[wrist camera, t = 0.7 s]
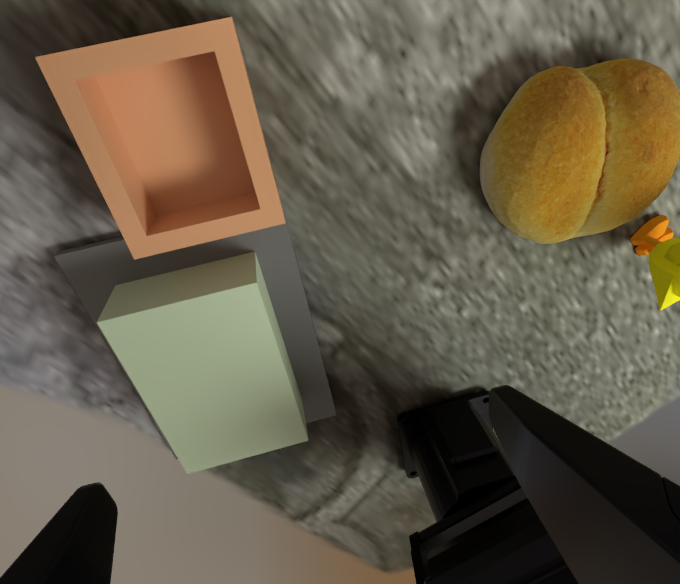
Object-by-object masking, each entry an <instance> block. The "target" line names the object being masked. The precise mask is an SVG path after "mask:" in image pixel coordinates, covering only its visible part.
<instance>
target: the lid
mask: <svg viewBox="0 0 680 584" xmlns="http://www.w3.org/2000/svg"><path fill="white" fill-rule="evenodd" d="M97 324H98V326H99V327H100V329H101V331H102V332H103V334H104V336H105V337H106V339H107V341H108V342H109V344H110V346H111V347H112V349H113V351H114V352H115V354H116V356H117V357H118V359H119V361H120V362H121V364H122V366H123V367H124V369H125V371H126V372H127V374H128V376H129V377H130V379H131V381H132V382H133V384H134V386H135V388H136V389H137V391H138V393H139V394H140V396H141V398H142V399H143V401H144V403H145V404H146V406H147V408H148V409H149V411H150V413H151V414H152V416H153V418H154V419H155V421H156V423H157V424H158V426H159V428H160V429H161V431H162V433H163V434H164V436H165V438H166V439H167V441H168V443H169V444H170V446H171V448H172V449H173V451H174V453H175V454H176V456H177V458H178V459H179V461H180V463H181V464H182V466H183V468H184V469H185V471H186V473H187V474H189V473H193V472H197V471H200V470H204V469H208V468H211V467H215V466H218V465H222V464H226V463H229V462H233V461H236V460H240V459H244V458H247V457H251V456H255V455H258V454H262V453H265V452H269V451H273V450H276V449H280V448H284V447H287V446H291V445H294V444H298V443H302V442H305V441H309V440H308V434H307V428H306V421H305V415H304V409H303V402H302V398H301V395H300V392H299V389H298V386H297V382H296V379H295V376H294V373H293V370H292V367H291V363H290V360H289V357H288V354H287V351H286V348H285V344H284V341H283V338H282V335H281V332H280V329H279V325H278V322H277V319H276V316H275V313H274V310H273V306H272V303H271V300H270V297H269V294H268V291H267V287H266V284H265V281H264V278H263V275H262V272H261V268H260V265H259V262H258V259H257V256H256V253H255V252H250V253H246V254H242V255H238V256H234V257H230V258H226V259H222V260H218V261H214V262H209V263H205V264H201V265H197V266H193V267H189V268H185V269H181V270H177V271H173V272H168V273H164V274H160V275H156V276H152V277H148V278H144V279H140V280H136V281H132V282H127V283H123V284H119V285H115V287H114V289H113V291H112V293H111V295H110V297H109V299H108V301H107V303H106V305H105V307H104V309H103V311H102V313H101V315H100V317H99V319H98V321H97Z"/></svg>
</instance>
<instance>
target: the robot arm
mask: <svg viewBox="0 0 680 584" xmlns="http://www.w3.org/2000/svg"><path fill="white" fill-rule="evenodd" d="M397 421H398V428H399V435H400V441H401V448H402V454H403V461H404V467H405V472H406V475H407V477H408V478H415V477H418V476H419V478H420V481H421V483H422V486H423V488H424V491H425V494H426V496H427V499H428V501H429V504H430V506H431V509H432V511H433V514H434V516H435V519H436V521H437V522H436V523H435V524H433V525H431V526H429V527H428V528H426V529H424V530H422V531H420V532H415V533H413V534H412V535H410V536H409V538H410V544H411V556H412V561H413V567H414V572H415V578H416V584H680V486H679V485H677V484H676V483H674V482H672V481H670V480H669V479H667V478H665V477H662V478H661V475H660V474H658V473H657V472H655V471H653V470H651V469H650V468H648V467H647V466H645V465H643V464H641V463H640V462H638V461H636V460H635V459H633V458H631V457H630V456H628V455H626V454H625V453H623V452H621V451H619V450H618V449H616V448H614V447H613V446H611V445H609V444H608V443H606V442H604V441H602V440H601V439H599V438H597V437H596V436H594V435H592V434H591V433H589V432H587V431H586V430H584V429H582V428H580V427H579V426H577V425H575V424H574V423H572V422H570V421H569V420H567V419H565V418H563V417H562V416H560V415H558V414H557V413H555V412H553V411H552V410H550V409H548V408H547V407H545V406H543V405H541V404H540V403H538V402H536V401H535V400H533V399H531V398H530V397H528V396H526V395H524V394H523V393H521V392H519V391H518V390H516V389H514V388H513V387H511V386H508V385H503V386H499V387H495V388H492V389H491V390H490V392H489V391H487V390H485V391H481V392H477V393H473V394H470V395H466V396H463V397H459V398H455V399H452V400H448V401H444V402H441V403H437V404H434V405H430V406H426V407H423V408H419V409H416V410H412V411H408V412H405V413H402V414H400V415H399V416H398V418H397ZM493 428H494V430H495V433H496V435H497V437H498V438H497V437H496V435H495V434H494V432H493ZM498 439H499V440H498ZM499 441H500V442H499ZM117 514H118V512H117V506H116V503H115V501H114V500H113V499H112V497H111V496H110V494H109V493H108V491H107V490H106V489H105V487H104V485H103V484H101V483H93V484H88V485H84V486H81V487H80V488H78V489H77V490H76V491H75V492H74V494H73V495H72V496H71V497H70V498H69V499H68V500H67V502H66V503H65V504H64V505H63V506H62V507H61V508H60V510H59V511H58V512H57V513H56V514H55V515H54V517H53V518H52V519H51V520H50V521H49V522H48V523H47V525H46V526H45V527H44V528H43V529H42V530H41V531H40V533H39V534H38V535H37V536H36V537H35V538H34V540H33V541H32V542H31V543H30V544H29V545H28V546H27V548H26V549H25V550H24V551H23V552H22V553H21V554H20V556H19V557H18V558H17V559H16V560H15V561H14V562H13V564H12V565H11V566H10V567H9V568H8V569H7V570H6V572H5V573H4V574H3V575H2V576H1V577H0V584H110V581H111V573H112V563H113V554H114V544H115V534H116V525H117Z"/></svg>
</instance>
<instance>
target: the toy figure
mask: <svg viewBox="0 0 680 584" xmlns="http://www.w3.org/2000/svg"><path fill="white" fill-rule="evenodd" d="M668 223H669V221H668V219H667V217H666V216H663V215H658V216H656V217H654V218H652V219H650V220H649V221H648V222H646V223H645V224H644V225H643V226H642V227H641V228H640V229H639V230H638V231H637V232H636V233H635V234H634V235H633V236H632V237H631V238H630V240H631V242H632V243H633V244H634V245H638V246H637V247H636V248H635V251H636V253H637V255H639V256H641V255H647V254H649V262H648V264H649V268H650V271H651V275H652V279H653V282H654V285H655V290H656V295H657V300H658V304H659V309H660V311H661V310H663V309H665V308H666V307H668V306H670V305H672V304H673V303H675V302H677V301H679V300H680V238H674V239H672V237H673V235H674V234H673V232H672V230H671V229H670V228H667V226H668Z"/></svg>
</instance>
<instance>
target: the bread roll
mask: <svg viewBox="0 0 680 584" xmlns="http://www.w3.org/2000/svg"><path fill="white" fill-rule="evenodd" d="M679 156H680V92H679V90H678V88H677V87H676V85H675V84H674V82H673V80H672V79H671V77H670V76H669V75H668V74H667V73H666V72H665V71H664V70H663V69H661V68H660V67H657V66H655V65H653V64H651V63H648V62H644V61H641V60H637V59H631V58H624V59H614V60H610V61H605V62H602V63H598V64H595V65H592V66H589V67H584V68H577V69H575V68H573V67H567V66H556V67H552V68H549V69H546V70H544V71H541V72H538V73H537V74H535V75H534V76H532V77H530V78H529V79H528V80H527V81H526V82H525V83H524V84H523V85H522V86H521V87H520V88H519V89H518V90H517V92H516V93H515V95H514V96H513V98H512V99H511V101H510V102H509V104H508V105H507V106H506V108H505V109H504V111H503V113H502V114H501V116H500V118H499V119H498V121H497V122H496V124H495V127H494V128H493V130H492V131H491V133H490V135H489V137H488V139H487V141H486V143H485V145H484V147H483V150H482V153H481V159H480V182H481V187H482V192H483V194H484V196H485V198H486V200H487V203H488V205H489V207H490V209H491V210H492V212H493V213H494V215H495V216H496V217H497V220H498V221H500V222H501V223H502V224H503V225H504V226H505V227H506V228H507V229H509V230H510V231H511V232H513V233H515V234H516V235H518V236H520V237H522V238H525V239H528V240H531V241H534V242H536V243H545V244H550V243H558V242H561V241H564V240H568V239H571V238H576V237H581V236H586V235H592V234H597V233H601V232H606V231H610V230H612V229H614V228H616V227H618V226H620V225H622V224H625V223H627V222H629V221H632V220H634V219H635V218H636V217H637V216H639V215H640V214H641V213H642V212H643V211H644V210H645V209H646V208H647V207H648V206H649V205H650V204H651V203H652V202H653V201H654V200H655V199H656V198H657V197H658V196H659V195H660V194H661V192H662V191H663V190H664V189H665V188H666V186H667V184H668V182H669V180H670V179H671V177H672V174H673V172H674V170H675V167H676V165H677V162H678V159H679Z"/></svg>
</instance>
